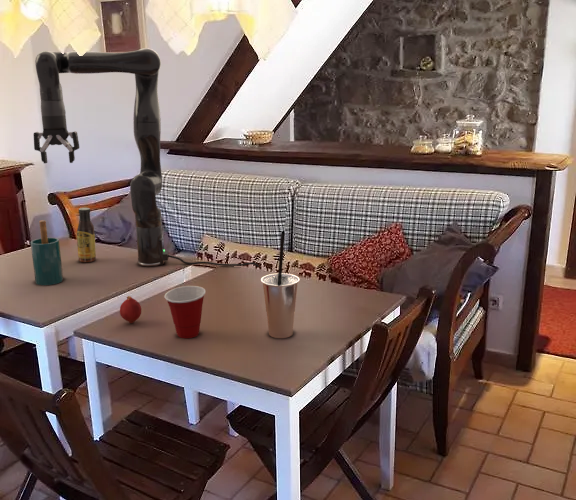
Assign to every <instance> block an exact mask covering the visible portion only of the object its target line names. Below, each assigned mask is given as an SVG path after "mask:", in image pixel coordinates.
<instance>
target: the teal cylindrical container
mask: <svg viewBox="0 0 576 500" xmlns="http://www.w3.org/2000/svg"><path fill="white" fill-rule="evenodd" d="M30 248H31V249H30V250H31V258H32V266H33V275H34V281H35V284H36V285H37V286H51V285H57V284H60V283H62V282H63V281H64V272H63V264H62V255H61V245H60V239H59V238H57V237H48V243H47V244H42V241H41V237H40V238H36V239H32V240H31V241H30Z"/></svg>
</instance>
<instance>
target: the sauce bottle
mask: <svg viewBox="0 0 576 500" xmlns="http://www.w3.org/2000/svg"><path fill="white" fill-rule="evenodd" d="M78 214H79V215H78V216H79V221H78V225H77V229H76V241H77V257H78V261H79V262H80V263H93V262H94V261H96V255H97V254H96V252H97V251H96V237H95V235H96V234H95V226H94V224H93V223H92V221H91V208H90V207H80V208H78Z"/></svg>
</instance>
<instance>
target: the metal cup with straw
mask: <svg viewBox="0 0 576 500" xmlns="http://www.w3.org/2000/svg"><path fill="white" fill-rule="evenodd" d="M285 235H286V232H285V231H282V230H281V232H280V243H279V244H280V245H279V257H278V258H279V259H278V272H277V273H270V274H267V275H264V276H262V277H261V278H260V282H261V283H262V287H263V288H262V289H263V296H264V304H265V312H266V318H267V319H266V321H267V329H268V335H269V336H270V337H271V338H275V339H286V338H290V337H291V336H293V334H294V323H295V312H296V303H297V294H298V284H299V282H300V280H301V279H300V277H299V276H297V275H295V274H292V273H285V272H284V273H283V264H284V263H283V261H284V249H285Z"/></svg>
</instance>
